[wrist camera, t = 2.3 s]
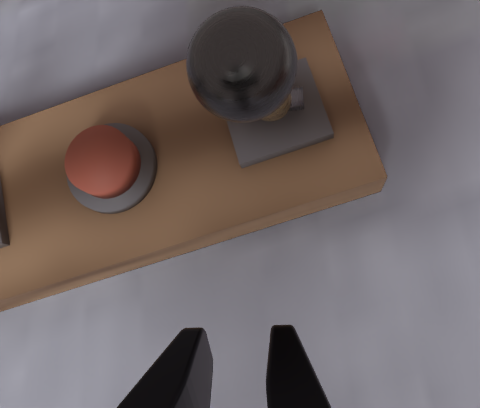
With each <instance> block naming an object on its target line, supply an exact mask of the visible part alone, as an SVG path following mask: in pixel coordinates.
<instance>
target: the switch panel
mask: <svg viewBox="0 0 480 408" xmlns="http://www.w3.org/2000/svg"><path fill="white" fill-rule="evenodd" d="M283 26H284V27H285V28H286V29H287V31H288V33H289V34H290V36H291V38H292V40H293V42H294V45H295V48H296V52H297V59H298V69H297V76H296V80H295V84H294V87H298V86H303V97H304V110H294V111H288V112H287V114H286V115H285V116H284V117H282V118H281V119H279V120H276V121H264V120H262V119H260V120H257V121H253V122H246V123H238V122H231V121H226V120H224V119H221V118H219V117H217V116H215V115H213V114H212V113H211V112H209V111H208V110H207V109H206V108H204V107H203V106H202V105H201V103H200V102H199V101H198V100H197V98H196V97H195V95H194V93H193V91H192V89H191V87H190V84H189V81H188V77H187V71H186V60H187V59H184V60H182V61H179V62H176V63H173V64H170V65H168V66H165V67H162V68H159V69H157V70H154V71H151V72H148V73H145V74H143V75H140V76H137V77H134V78H132V79H129V80H126V81H123V82H121V83H118V84H115V85H112V86H109V87H107V88H104V89H101V90H98V91H96V92H93V93H90V94H87V95H85V96H82V97H79V98H76V99H73V100H71V101H68V102H65V103H62V104H60V105H57V106H54V107H51V108H49V109H46V110H43V111H40V112H37V113H35V114H32V115H29V116H26V117H24V118H21V119H18V120H15V121H12V122H10V123H7V124H4V125H1V126H0V312H1V311H4V310H7V309H10V308H14V307H17V306H20V305H23V304H26V303H29V302H33V301H36V300H39V299H42V298H45V297H48V296H52V295H55V294H58V293H61V292H64V291H67V290H71V289H74V288H77V287H80V286H83V285H86V284H90V283H93V282H96V281H99V280H102V279H105V278H109V277H112V276H115V275H118V274H121V273H124V272H127V271H131V270H134V269H137V268H140V267H143V266H146V265H150V264H153V263H156V262H159V261H162V260H165V259H169V258H172V257H175V256H178V255H181V254H184V253H188V252H191V251H194V250H197V249H200V248H203V247H207V246H210V245H213V244H216V243H219V242H222V241H226V240H229V239H232V238H235V237H238V236H241V235H244V234H248V233H251V232H254V231H257V230H260V229H263V228H267V227H270V226H273V225H276V224H279V223H282V222H286V221H289V220H292V219H295V218H298V217H301V216H305V215H308V214H311V213H314V212H317V211H320V210H324V209H327V208H330V207H333V206H336V205H339V204H343V203H346V202H349V201H352V200H355V199H358V198H362V197H365V196H368V195H371V194H374V193H377V192H380V191H381V190H382V188H383V185H384V183H385V181H386V179H387V175H386V172H385V169H384V167H383V164H382V162H381V159H380V157H379V154H378V152H377V149H376V147H375V144H374V141H373V139H372V136H371V134H370V131H369V129H368V126H367V124H366V121H365V118H364V116H363V113H362V111H361V108H360V106H359V103H358V101H357V98H356V96H355V93H354V90H353V88H352V85H351V83H350V80H349V78H348V75H347V73H346V70H345V68H344V65H343V62H342V60H341V57H340V55H339V52H338V50H337V47H336V45H335V42H334V40H333V37H332V34H331V32H330V29H329V27H328V24H327V22H326V19H325V17H324V14H323V11H322V10H320V11H317V12H315V13H312V14H309V15H306V16H303V17H301V18H298V19H295V20H292V21H290V22H287V23H284V24H283Z"/></svg>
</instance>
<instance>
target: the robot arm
mask: <svg viewBox="0 0 480 408" xmlns="http://www.w3.org/2000/svg"><path fill="white" fill-rule="evenodd" d="M212 374H213V358H212V353H211V349H210V346H209V342H208V338H207V334H206V331H205V330H204V329H203V328H185V329H183V330H181V331H180V333H179V334H178V335H177V336H176V337H175V339H174V340H173V341H172V342H171V343H170V344H169V346H168V347H167V348H166V349H165V350H164V352H163V353H162V354H161V355H160V356H159V358H158V359H157V360H156V361H155V362H154V364H153V365H152V366H151V367H150V368H149V370H148V371H147V372H146V373H145V374H144V376H143V377H142V378H141V379H140V380H139V382H138V383H137V384H136V385H135V386H134V388H133V389H132V390H131V391H130V392H129V394H128V395H127V396H126V397H125V398H124V400H123V401H122V402H121V403H120V404H119V406H118V407H117V408H210V399H211V387H212ZM266 394H267V406H268V408H331V406H330V404H329V402H328V399H327V397H326V395H325V393H324V391H323V389H322V386H321V384H320V382H319V380H318V378H317V376H316V373H315V371H314V369H313V367H312V365H311V363H310V360H309V358H308V356H307V354H306V352H305V350H304V347H303V345H302V343H301V341H300V339H299V337H298V334H297V332H296V330H295V328H294V327H293V326H292V325H274V326H272V328H271V333H270V343H269V353H268V363H267V373H266Z"/></svg>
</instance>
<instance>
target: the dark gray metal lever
mask: <svg viewBox="0 0 480 408" xmlns="http://www.w3.org/2000/svg"><path fill="white" fill-rule="evenodd" d="M297 69H298V59H297V52H296V48H295V45H294V42H293V40H292V38H291V36H290V34H289V33H288V31H287V29H286V28H285V27H284V26H283V24H282V23H281V22H280V21H279V20H277V19H276V18H275V17H273V16H272V15H271V14H269V13H267V12H265V11H263V10H260V9H257V8H253V7H246V6H238V7H231V8H227V9H224V10H222V11H219V12H217V13H215V14H214V15H212V16H211V17H209V18H208V19H207V20H206V21H205V22H204V23H203V24H202V25H201V26H200V27H199V28H198V30H197V31H196V33H195V34H194V36H193V38H192V40H191V43H190V45H189V48H188V53H187V60H186V71H187V77H188V81H189V84H190V87H191V89H192V91H193V93H194V95H195V97H196V98H197V100H198V101H199V102H200V103H201V105H202V106H203V107H204V108H206V109H207V110H208V111H209V112H211V113H212V114H213V115H215V116H217V117H219V118H221V119H224V120H226V121H231V122H238V123H246V122H253V121H257V120H260V119H262V120H264V121H276V120H279V119H281V118H282V117H284V116H285V115H286V114H287V112H288V111H294V110H304V97H303V86H298V87H294V84H295V80H296V76H297Z"/></svg>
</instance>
